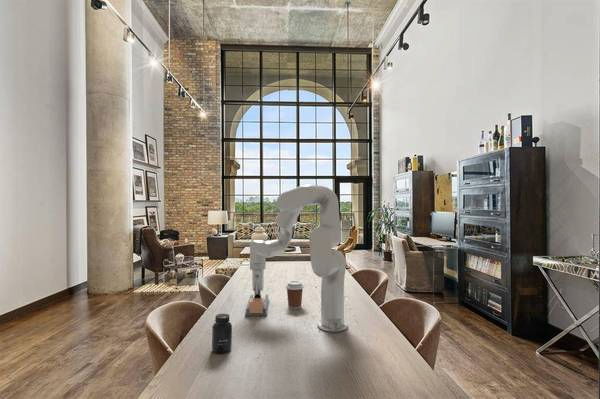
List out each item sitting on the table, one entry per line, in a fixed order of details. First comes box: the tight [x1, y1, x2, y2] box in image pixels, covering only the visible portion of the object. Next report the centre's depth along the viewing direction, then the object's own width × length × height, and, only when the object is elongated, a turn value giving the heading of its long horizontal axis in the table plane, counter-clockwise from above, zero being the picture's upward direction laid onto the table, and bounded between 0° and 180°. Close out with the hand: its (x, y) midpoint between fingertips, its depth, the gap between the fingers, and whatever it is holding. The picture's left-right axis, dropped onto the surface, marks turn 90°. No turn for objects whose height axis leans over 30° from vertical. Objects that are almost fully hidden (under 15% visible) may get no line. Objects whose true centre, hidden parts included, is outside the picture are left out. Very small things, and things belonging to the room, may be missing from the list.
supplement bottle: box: [211, 313, 233, 355], centre depth 116 cm, size 7×7×12 cm
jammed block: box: [249, 297, 264, 313], centre depth 153 cm, size 6×6×5 cm
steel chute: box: [244, 294, 270, 317], centre depth 161 cm, size 22×10×4 cm, turn 3°
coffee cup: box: [285, 280, 305, 310], centre depth 163 cm, size 9×9×12 cm
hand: (257, 303), depth 159 cm, fingers closed
